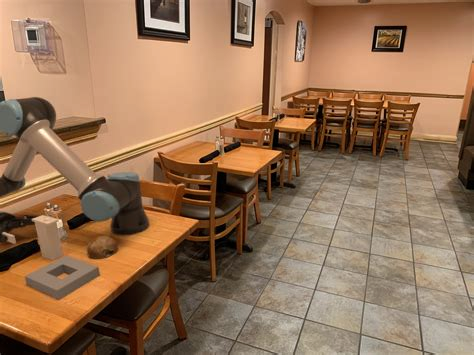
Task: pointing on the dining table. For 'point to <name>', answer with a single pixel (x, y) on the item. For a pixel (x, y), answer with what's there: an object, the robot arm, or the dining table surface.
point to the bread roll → (102, 247)
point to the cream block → (48, 237)
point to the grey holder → (59, 288)
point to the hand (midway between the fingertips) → (33, 231)
